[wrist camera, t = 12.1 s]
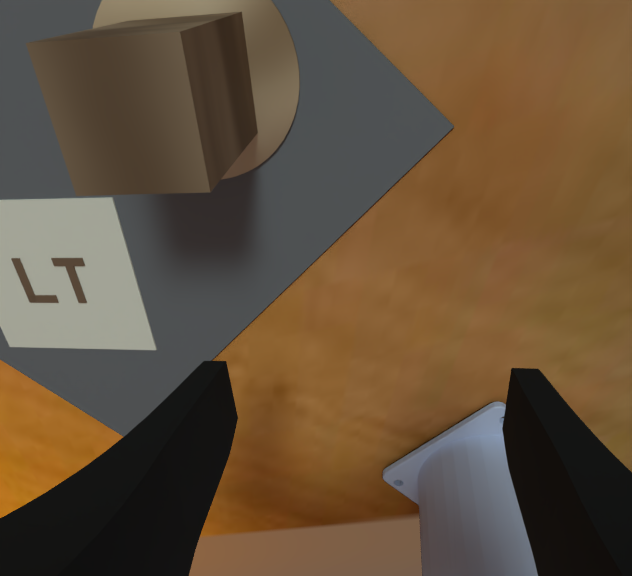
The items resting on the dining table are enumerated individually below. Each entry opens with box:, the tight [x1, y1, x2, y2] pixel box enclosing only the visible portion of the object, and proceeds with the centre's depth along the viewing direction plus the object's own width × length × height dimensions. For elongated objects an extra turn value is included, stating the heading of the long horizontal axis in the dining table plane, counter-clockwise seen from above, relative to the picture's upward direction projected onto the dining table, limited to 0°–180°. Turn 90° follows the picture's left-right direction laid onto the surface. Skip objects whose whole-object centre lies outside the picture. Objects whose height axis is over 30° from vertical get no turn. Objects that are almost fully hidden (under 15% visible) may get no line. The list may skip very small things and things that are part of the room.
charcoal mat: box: [0, 0, 454, 436], centre depth 22 cm, size 16×24×1 cm, turn 139°
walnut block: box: [26, 12, 258, 196], centre depth 16 cm, size 4×4×6 cm
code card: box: [0, 197, 157, 350], centre depth 24 cm, size 8×8×1 cm
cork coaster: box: [93, 0, 300, 179], centre depth 19 cm, size 8×8×1 cm
